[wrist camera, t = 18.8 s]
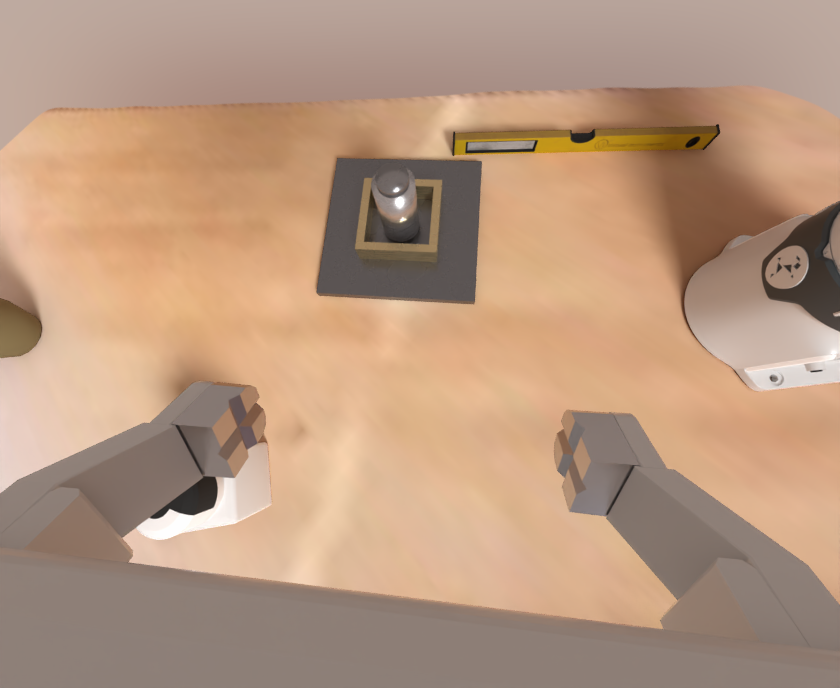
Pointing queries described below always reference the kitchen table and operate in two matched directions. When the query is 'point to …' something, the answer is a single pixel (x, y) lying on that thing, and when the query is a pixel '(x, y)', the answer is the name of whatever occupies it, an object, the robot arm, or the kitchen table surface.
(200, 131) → the kitchen table surface
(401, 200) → the domed metal canister
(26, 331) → the squeeze bottle
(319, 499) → the kitchen table surface
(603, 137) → the spirit level
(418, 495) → the kitchen table surface
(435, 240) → the collar plate
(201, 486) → the medicine bottle
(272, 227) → the kitchen table surface
